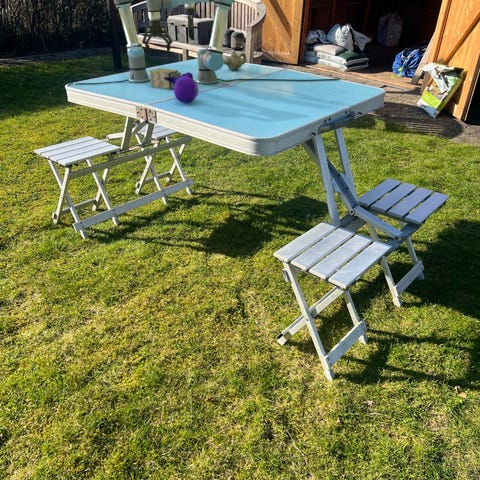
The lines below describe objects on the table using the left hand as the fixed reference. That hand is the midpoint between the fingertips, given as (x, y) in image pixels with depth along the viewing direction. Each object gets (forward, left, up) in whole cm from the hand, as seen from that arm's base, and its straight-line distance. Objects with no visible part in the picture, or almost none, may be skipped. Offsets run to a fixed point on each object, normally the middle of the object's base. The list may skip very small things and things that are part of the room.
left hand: (191, 39), depth 345 cm
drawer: (-25, -42, -25) cm, 55 cm away
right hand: (-33, -51, -3) cm, 61 cm away
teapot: (+36, +5, -26) cm, 45 cm away
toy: (-25, -85, -26) cm, 92 cm away
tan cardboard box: (-29, -37, -26) cm, 54 cm away
